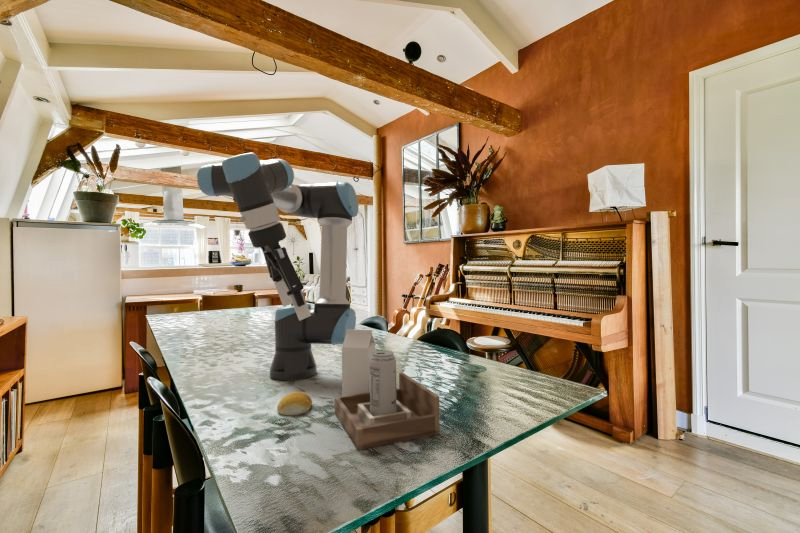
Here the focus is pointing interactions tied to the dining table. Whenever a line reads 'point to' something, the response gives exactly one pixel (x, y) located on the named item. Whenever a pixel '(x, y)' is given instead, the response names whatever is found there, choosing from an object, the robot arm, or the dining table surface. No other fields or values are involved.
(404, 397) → the walled box
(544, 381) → the dining table surface
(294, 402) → the bread roll
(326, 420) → the dining table surface
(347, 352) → the milk carton
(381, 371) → the energy drink can
